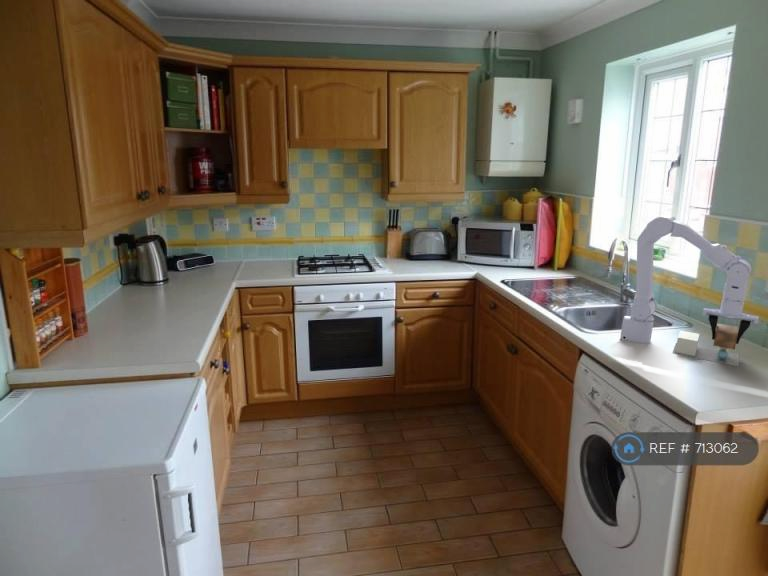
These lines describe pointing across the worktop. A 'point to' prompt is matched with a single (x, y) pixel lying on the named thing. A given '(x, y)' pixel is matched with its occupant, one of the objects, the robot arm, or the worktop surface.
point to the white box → (687, 343)
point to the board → (712, 356)
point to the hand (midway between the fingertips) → (724, 340)
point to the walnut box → (726, 336)
